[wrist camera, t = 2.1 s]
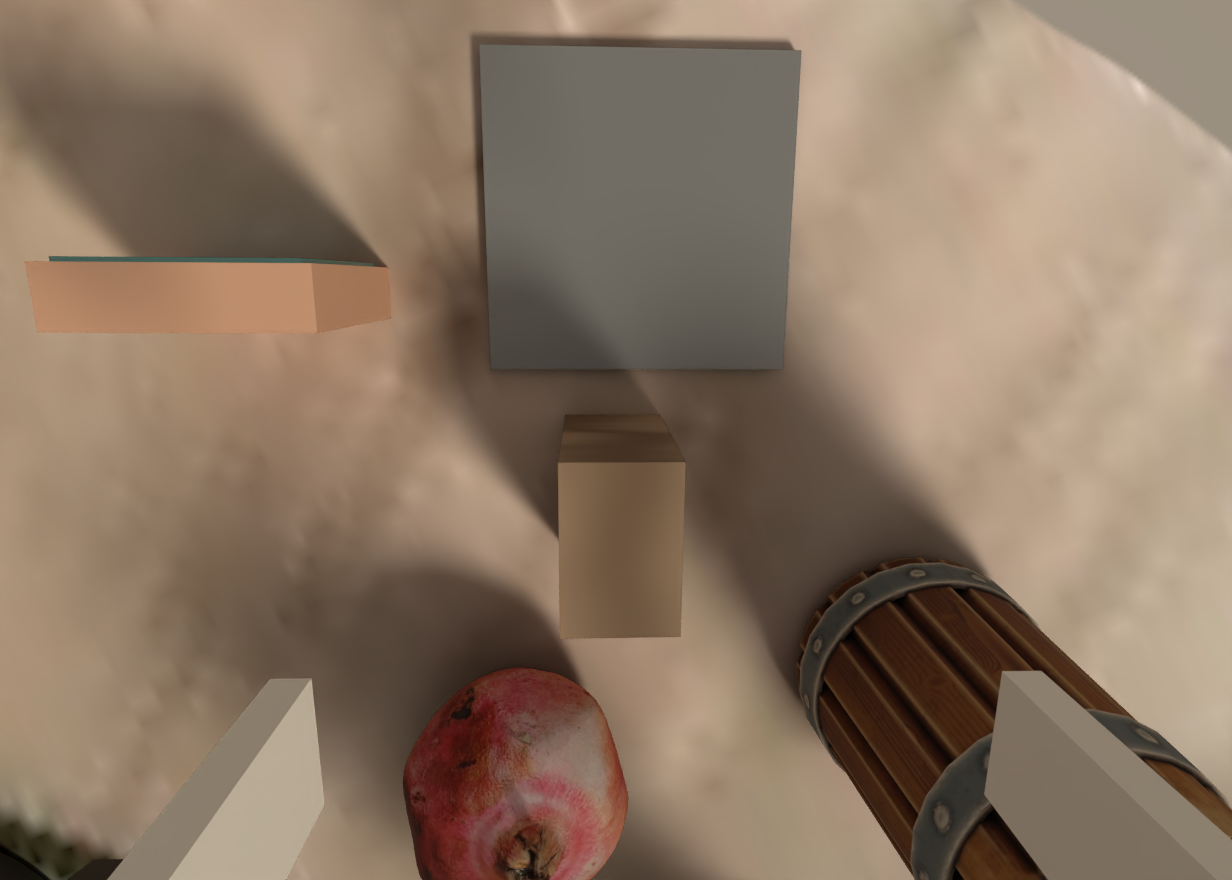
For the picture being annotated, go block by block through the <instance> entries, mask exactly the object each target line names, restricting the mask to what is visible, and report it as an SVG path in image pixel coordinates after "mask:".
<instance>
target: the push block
mask: <svg viewBox="0 0 1232 880" xmlns="http://www.w3.org/2000/svg"><path fill="white" fill-rule="evenodd" d="M685 469H686V462H685V460H684V458H683V456H682V455H681V453H680V451H679V449H678V447H677V445H676V443H675V442H674V440H673V438H672V436H671V434H670V432H669V431H668V429H667V427H666V425H665V423H664V421H663V420H662V418H661V416H660V415H565V421H564V427H563V434H562V440H561V446H560V452H559V459H558V517H559V597H560V639H569V638H639V637H681V606H682V572H683V537H684V503H685Z"/></svg>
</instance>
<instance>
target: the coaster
mask: <svg viewBox="0 0 1232 880" xmlns="http://www.w3.org/2000/svg"><path fill="white" fill-rule="evenodd" d="M479 51H480V79H481V108H482V137H483V166H484V195H485V224H486V253H487V282H488V311H489V340H490V369H783V356H784V339H785V322H786V305H787V288H788V271H789V254H790V237H791V220H792V203H793V186H794V169H795V152H796V135H797V118H798V101H799V84H800V67H801V50H754V49H701V48H648V47H595V46H542V45H489V44H479Z"/></svg>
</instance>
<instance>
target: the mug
mask: <svg viewBox="0 0 1232 880" xmlns="http://www.w3.org/2000/svg"><path fill="white" fill-rule="evenodd" d="M800 646H801V648H802V649H803V652H802V653H801V655H800V657H799V659H798V660H797V683H798V688H799V693H800V697H801V699H802V703H803V706H804V710H805V714H806V717H807V719H808V721H809V722H810V724H811V725H812V727H813V729H814V730H815V732H816V733H817V735H818V737H819V738H820V740H821V741H822V743H823V745H824V746H825V748H826V749H827V751H828V752H829V754H830V755H831V757H832V759H833V760H834V762H835V763H836V764H837V765H838V766H839V767H840V768H841V769H842V770H844V771H845V772H846V773H847V775H848V776H849V778H850V780H851V781H852V783H853V784H854V786H855V787H856V789H857V790H858V792H859V793H860V795H861V797H862V798H863V800H864V801H865V803H866V804H867V806H868V807H869V809H870V810H871V812H872V814H873V815H874V817H875V818H876V820H877V821H878V823H879V824H880V826H881V827H882V829H883V831H884V832H885V834H886V835H887V837H888V838H889V840H890V841H891V843H892V844H893V846H894V848H895V849H896V851H897V852H898V854H899V855H900V857H901V858H902V860H903V862H904V863H905V865H906V866H907V868H908V869H909V871H910V872H911V874H912V875H913V877H914V879H915V880H1048V879H1047V878H1046V876H1045V875H1044V874H1043V872H1042V871H1041V870H1040V868H1039V867H1038V866H1037V864H1036V863H1035V862H1034V860H1033V859H1032V858H1031V856H1030V855H1029V854H1028V852H1027V851H1026V850H1025V848H1024V847H1023V846H1022V844H1021V843H1020V842H1019V840H1018V839H1017V838H1016V836H1015V835H1014V834H1013V832H1012V831H1011V830H1010V828H1009V827H1008V825H1007V824H1006V823H1005V821H1004V820H1003V819H1002V817H1001V816H1000V815H999V813H998V812H997V811H996V809H995V808H994V807H993V805H992V804H991V803H990V801H989V800H988V799H987V797H986V796H985V795H984V792H985V785H986V779H987V772H988V765H989V758H990V751H991V744H992V737H993V730H994V724H995V717H996V710H997V703H998V696H999V689H1000V682H1001V675H1002V671H1042V672H1043V673H1044V674H1045V675H1047V676H1048V677H1049V678H1050V679H1051V680H1052V681H1053V682H1054V683H1056V684H1057V685H1058V686H1059V687H1060V688H1061V689H1062V690H1063V691H1065V692H1066V693H1067V694H1068V695H1069V696H1070V697H1071V698H1072V699H1074V700H1075V701H1076V702H1077V703H1078V704H1079V705H1080V706H1081V707H1083V708H1084V709H1085V710H1086V711H1087V712H1088V713H1089V714H1091V715H1092V716H1093V717H1094V718H1095V719H1096V720H1097V721H1098V722H1100V723H1101V724H1102V725H1103V726H1104V727H1105V728H1106V729H1107V730H1109V731H1110V732H1111V733H1112V734H1113V735H1114V736H1115V737H1116V738H1118V739H1119V740H1120V741H1121V742H1122V743H1123V744H1124V745H1125V746H1127V747H1128V748H1129V749H1130V750H1131V751H1132V752H1133V753H1135V754H1136V755H1137V756H1138V757H1139V758H1140V759H1141V760H1142V761H1144V762H1145V763H1146V764H1147V765H1148V766H1149V767H1150V768H1151V769H1153V770H1154V771H1155V772H1156V773H1157V774H1158V775H1159V776H1160V777H1162V778H1163V779H1164V780H1165V781H1166V782H1167V783H1168V784H1169V785H1171V786H1172V787H1173V788H1174V789H1175V790H1176V791H1177V792H1179V793H1180V794H1181V795H1182V796H1183V797H1184V798H1185V799H1186V800H1188V801H1189V802H1190V803H1191V804H1192V805H1193V806H1194V807H1195V808H1197V809H1198V810H1199V811H1200V812H1201V813H1202V814H1203V815H1204V816H1206V817H1207V818H1208V819H1209V820H1210V821H1211V822H1212V823H1213V824H1215V825H1216V826H1217V827H1218V828H1219V829H1220V830H1221V831H1223V832H1224V833H1225V834H1226V835H1227V836H1228V837H1229V838H1232V808H1231V806H1230V804H1229V802H1228V800H1227V798H1226V797H1225V796H1224V795H1223V794H1222V793H1221V792H1220V791H1219V790H1218V789H1217V788H1216V787H1215V786H1214V785H1213V784H1212V783H1211V782H1210V781H1209V780H1208V779H1207V778H1206V777H1205V776H1204V775H1203V774H1202V773H1201V772H1200V771H1199V770H1198V769H1197V768H1196V767H1195V766H1194V765H1193V764H1192V763H1190V762H1189V761H1188V760H1187V759H1186V758H1185V757H1184V756H1183V755H1182V754H1181V753H1180V752H1179V751H1177V750H1176V749H1175V748H1174V747H1173V746H1172V745H1171V744H1170V743H1169V742H1168V741H1167V740H1165V739H1164V738H1163V737H1162V736H1161V735H1160V734H1159V733H1158V732H1156V731H1154V730H1153V729H1151V728H1149V727H1147V726H1145V725H1143V724H1141V723H1139V722H1138V721H1137V720H1135V719H1134V718H1133V717H1132V716H1131V715H1130V714H1129V713H1128V712H1127V711H1126V710H1125V709H1124V708H1123V707H1122V706H1121V705H1119V704H1118V703H1117V702H1116V701H1115V700H1114V699H1113V698H1112V697H1111V696H1110V695H1109V694H1108V693H1107V692H1106V691H1105V690H1103V689H1102V688H1101V687H1100V686H1099V685H1098V684H1097V683H1096V682H1095V681H1094V680H1093V679H1092V678H1091V677H1090V676H1089V675H1087V674H1086V673H1085V672H1084V671H1083V670H1082V669H1081V668H1080V667H1079V666H1078V665H1077V664H1076V663H1075V662H1074V661H1073V660H1071V659H1070V658H1069V657H1068V656H1067V655H1066V654H1065V653H1064V652H1063V651H1062V650H1061V649H1060V648H1059V647H1058V646H1057V645H1055V644H1054V643H1053V642H1052V641H1051V640H1050V639H1049V638H1048V637H1047V636H1046V635H1045V634H1044V633H1043V632H1042V631H1041V630H1040V628H1039V626H1038V624H1037V623H1036V621H1035V620H1034V619H1033V618H1032V617H1031V616H1030V615H1029V614H1028V613H1027V612H1026V611H1025V610H1024V609H1023V608H1022V607H1021V606H1020V605H1019V604H1018V603H1017V602H1016V601H1014V600H1013V599H1012V598H1011V597H1010V596H1009V595H1008V594H1007V593H1006V592H1005V591H1004V590H1003V589H1001V588H1000V587H999V586H998V585H997V584H996V583H995V582H993V581H991V580H989V579H987V578H986V577H984V576H982V575H980V574H978V573H976V572H974V571H973V570H971V569H968V568H966V567H964V566H962V565H960V564H957V563H953V562H949V561H946V560H942V559H936V560H932V561H928V562H925V561H924V560H923V559H922V558H921V557H917V558H904V559H897V560H893V561H889V562H885V563H881V564H879V565H878V566H876V567H875V568H874V569H872V570H871V571H862V572H860V573H859V574H857V575H855V576H854V577H852V578H850V579H849V580H847V581H846V582H844V583H843V584H842V585H841V586H839V587H838V588H837V589H836V590H835V591H834V592H833V593H831V594H830V595H829V596H828V599H827V602H826V604H824V605H823V606H822V607H820V608H819V609H817V610H816V612H815V614H814V615H813V617H812V619H811V620H810V622H809V624H808V625H807V627H806V630H805V632H804V635H803V638H802V640H801V643H800Z"/></svg>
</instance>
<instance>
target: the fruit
mask: <svg viewBox="0 0 1232 880" xmlns="http://www.w3.org/2000/svg"><path fill="white" fill-rule="evenodd" d="M403 790H404V797H405V802H406V809H407V815H408V819H409V824H410V828H411V832H412V838H413V843H414V850H415V857H416V863H417V867H418V870H419V874H420V877H421V878H422V880H591V879H592V878H593V877H594V876H595V875H596V874H597V873H598V872H599V871H600V869H601V868H602V867H603V866H604V865H605V863H606V862H607V860H608V859H609V857H610V856H611V854H612V853H613V851H614V849H615V848H616V846H617V843H618V841H619V838H620V836H621V833H622V830H623V827H624V823H625V819H626V813H627V807H628V792H627V788H626V784H625V780H624V776H623V772H622V768H621V765H620V762H619V758H618V754H617V750H616V747H615V744H614V741H613V738H612V735H611V732H610V729H609V727H608V723H607V721H606V718H605V716H604V713H603V711H602V709H601V708H600V706H599V704H598V703H597V701H596V700H595V699H594V698H593V697H592V696H591V695H590V694H589V693H588V692H587V691H586V690H585V689H583V688H582V687H581V686H579V685H578V684H576V683H575V682H573V681H571V680H569V679H567V678H565V677H563V676H561V675H559V674H556V673H551V672H546V671H540V670H536V669H531V668H524V667H518V668H510V669H504V670H498V671H495V672H492V673H489V674H487V675H484V676H482V677H480V678H477V679H475V680H474V681H472V682H470V683H469V684H467V685H466V686H464V687H463V688H462V689H461V690H460V691H459V692H457V693H456V694H455V695H454V696H453V697H452V698H451V699H450V700H449V701H447V702H446V703H445V704H444V706H443V707H442V708H441V709H440V710H439V711H438V712H437V713H436V714H435V715H434V716H433V718H432V719H431V720H430V722H429V723H428V724H427V726H426V727H425V729H424V730H423V732H422V734H421V735H420V737H419V739H418V740H417V742H416V743H415V745H414V747H413V749H412V751H411V753H410V755H409V757H408V760H407V762H406V765H405V768H404V776H403Z"/></svg>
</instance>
